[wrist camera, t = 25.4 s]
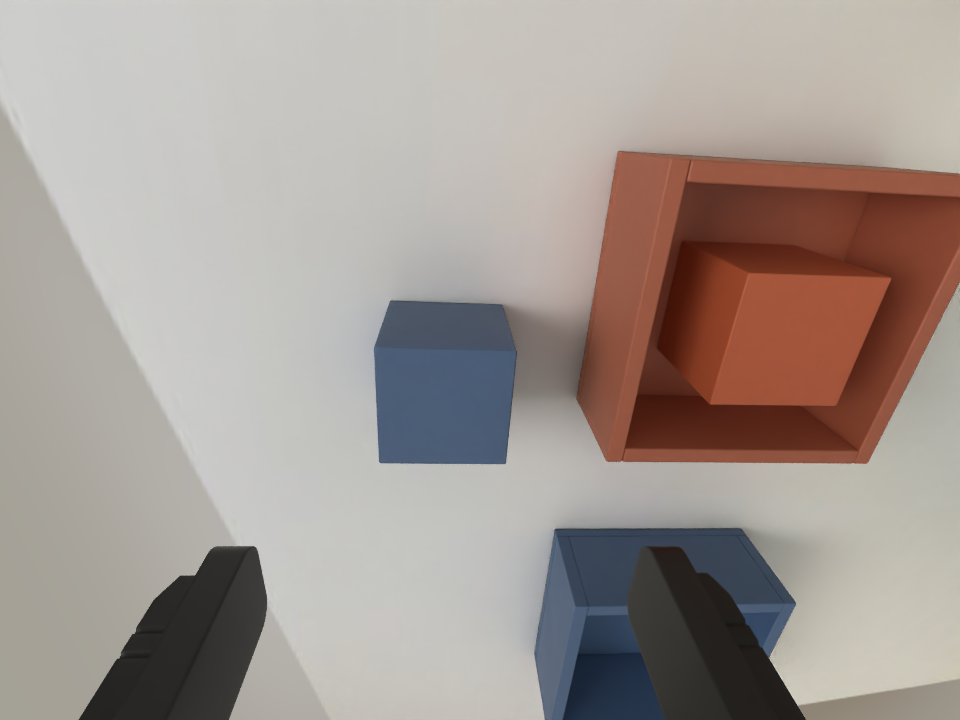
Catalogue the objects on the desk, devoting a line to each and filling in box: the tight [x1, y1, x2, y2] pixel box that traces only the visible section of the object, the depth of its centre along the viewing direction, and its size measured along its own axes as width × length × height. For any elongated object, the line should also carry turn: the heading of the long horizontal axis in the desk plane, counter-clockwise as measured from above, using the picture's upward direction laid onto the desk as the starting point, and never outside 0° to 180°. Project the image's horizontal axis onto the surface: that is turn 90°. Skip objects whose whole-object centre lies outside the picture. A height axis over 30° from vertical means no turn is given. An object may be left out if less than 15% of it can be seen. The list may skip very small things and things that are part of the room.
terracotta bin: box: [577, 151, 960, 464], centre depth 17 cm, size 10×10×4 cm
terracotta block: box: [657, 241, 891, 406], centre depth 17 cm, size 4×4×4 cm
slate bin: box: [534, 529, 796, 720], centre depth 25 cm, size 10×10×4 cm
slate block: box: [374, 301, 517, 464], centre depth 18 cm, size 4×4×4 cm
